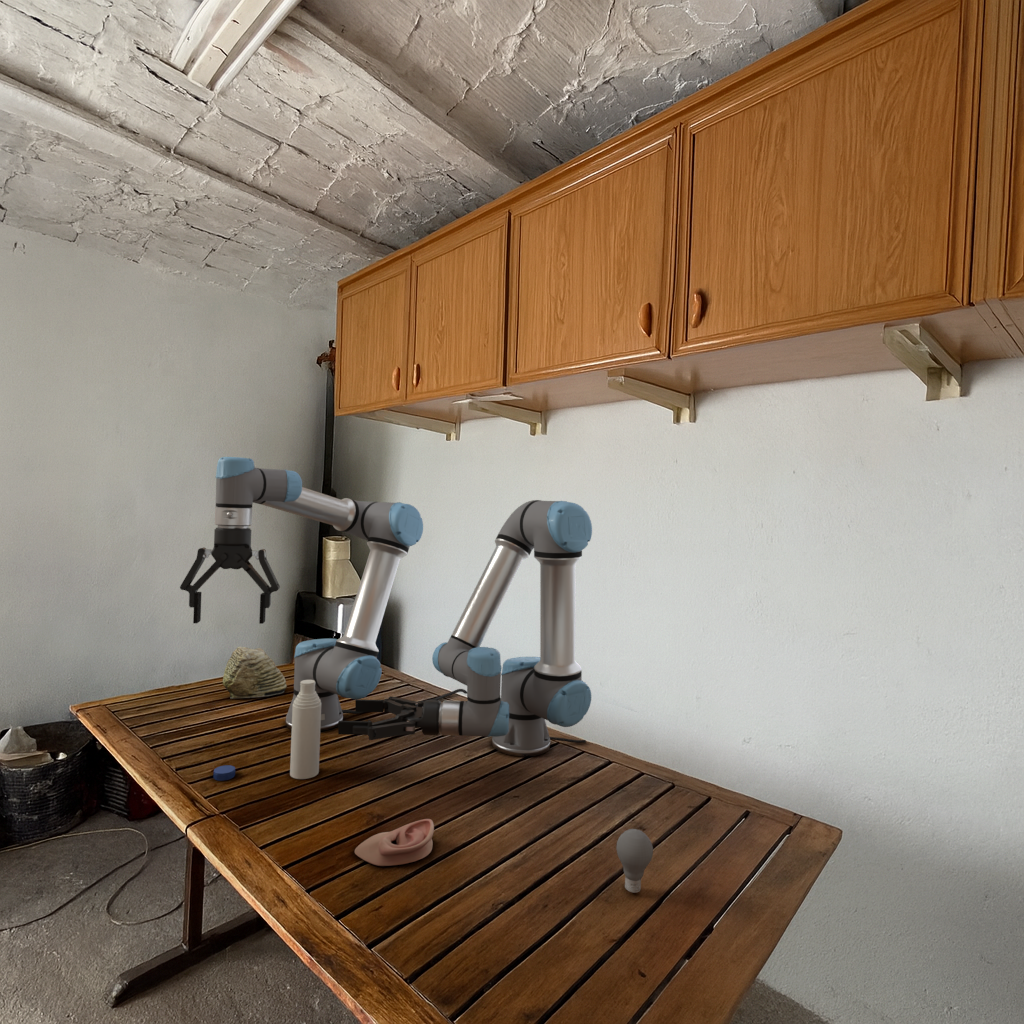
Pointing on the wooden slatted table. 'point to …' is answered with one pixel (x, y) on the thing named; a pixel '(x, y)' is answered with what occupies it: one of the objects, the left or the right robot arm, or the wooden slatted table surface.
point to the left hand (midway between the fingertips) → (229, 622)
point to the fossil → (252, 674)
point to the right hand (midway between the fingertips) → (347, 716)
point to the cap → (224, 773)
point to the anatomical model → (398, 844)
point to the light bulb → (634, 857)
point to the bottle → (305, 732)
